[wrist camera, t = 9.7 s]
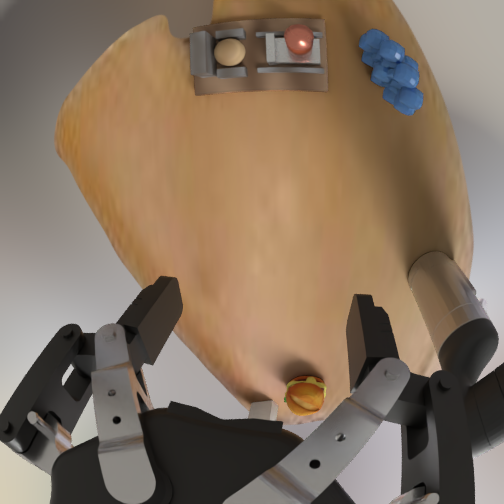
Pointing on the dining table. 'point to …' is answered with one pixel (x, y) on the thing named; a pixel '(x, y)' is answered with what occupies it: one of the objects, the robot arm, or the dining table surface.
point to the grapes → (392, 71)
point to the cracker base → (254, 58)
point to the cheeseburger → (305, 395)
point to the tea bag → (264, 410)
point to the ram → (293, 47)
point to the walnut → (229, 52)
